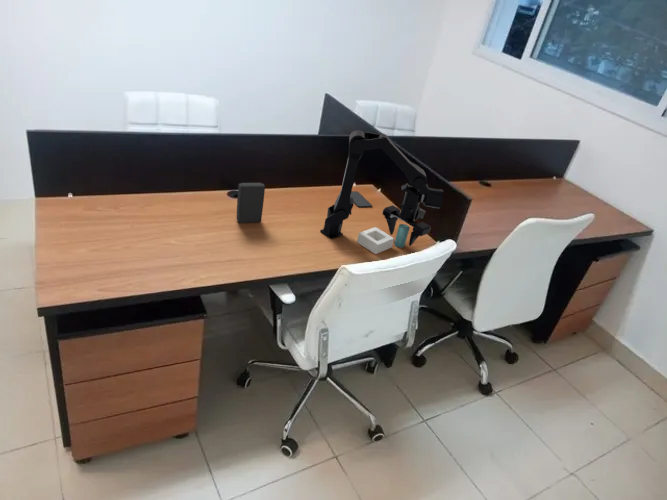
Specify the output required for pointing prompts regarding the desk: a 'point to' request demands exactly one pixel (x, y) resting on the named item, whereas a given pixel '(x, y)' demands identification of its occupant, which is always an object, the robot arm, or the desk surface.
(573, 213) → the desk surface
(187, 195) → the desk surface
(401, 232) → the peg
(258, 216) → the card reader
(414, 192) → the robot arm
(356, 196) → the smartphone
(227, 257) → the desk surface
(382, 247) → the socket
